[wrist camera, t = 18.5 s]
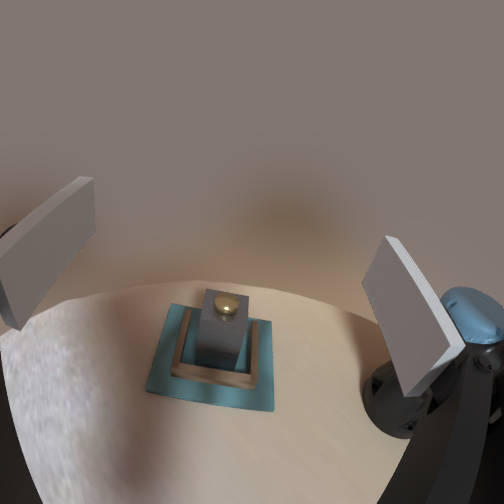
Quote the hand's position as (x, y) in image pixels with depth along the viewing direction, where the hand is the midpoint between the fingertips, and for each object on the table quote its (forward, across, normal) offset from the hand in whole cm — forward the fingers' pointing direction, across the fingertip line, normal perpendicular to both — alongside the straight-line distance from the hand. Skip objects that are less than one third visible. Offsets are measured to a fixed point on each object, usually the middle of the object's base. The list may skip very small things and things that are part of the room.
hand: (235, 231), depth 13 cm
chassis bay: (+18, +1, -32) cm, 37 cm away
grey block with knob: (+18, +1, -31) cm, 36 cm away
